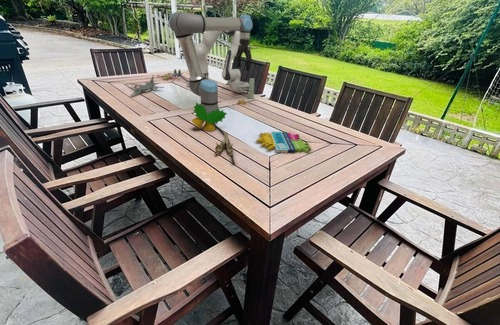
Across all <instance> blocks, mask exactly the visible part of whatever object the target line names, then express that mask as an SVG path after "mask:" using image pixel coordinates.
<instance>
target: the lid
mask: <svg viewBox="0 0 500 325" xmlns="http://www.w3.org/2000/svg"><path fill="white" fill-rule="evenodd" d="M238 104H239V105H245V104H246V100H245V99H238Z"/></svg>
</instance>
